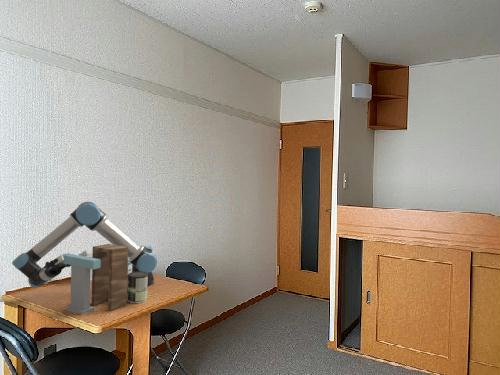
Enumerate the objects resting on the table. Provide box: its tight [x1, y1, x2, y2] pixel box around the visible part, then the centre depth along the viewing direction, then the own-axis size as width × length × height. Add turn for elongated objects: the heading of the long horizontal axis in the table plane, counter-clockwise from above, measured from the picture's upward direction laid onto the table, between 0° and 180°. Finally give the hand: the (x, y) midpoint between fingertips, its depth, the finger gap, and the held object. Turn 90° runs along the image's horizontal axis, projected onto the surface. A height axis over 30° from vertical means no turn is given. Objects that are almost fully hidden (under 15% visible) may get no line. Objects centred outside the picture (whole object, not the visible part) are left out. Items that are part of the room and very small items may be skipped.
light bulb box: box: [127, 258, 132, 275], centre depth 255 cm, size 11×7×11 cm, turn 79°
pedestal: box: [64, 265, 95, 315], centre depth 181 cm, size 12×7×22 cm, turn 62°
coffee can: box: [127, 272, 148, 304], centre depth 199 cm, size 10×10×14 cm
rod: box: [60, 252, 101, 269], centre depth 181 cm, size 24×4×4 cm, turn 62°
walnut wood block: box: [90, 243, 128, 312], centre depth 189 cm, size 14×10×30 cm
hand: (75, 254), depth 183 cm, fingers open, 13 cm apart
